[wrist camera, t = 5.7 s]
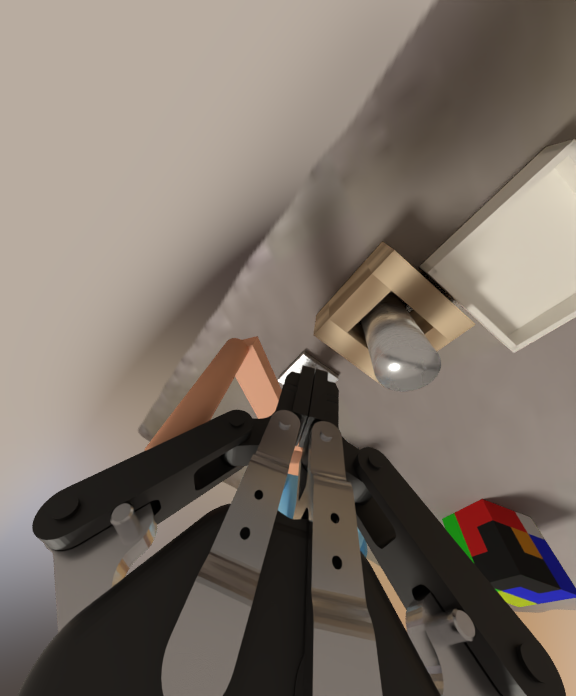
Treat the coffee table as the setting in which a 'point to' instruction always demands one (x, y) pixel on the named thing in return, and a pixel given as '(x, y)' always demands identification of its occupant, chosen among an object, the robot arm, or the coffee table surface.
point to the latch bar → (212, 385)
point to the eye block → (368, 290)
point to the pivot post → (310, 362)
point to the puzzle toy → (510, 553)
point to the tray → (518, 253)
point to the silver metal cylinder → (399, 347)
